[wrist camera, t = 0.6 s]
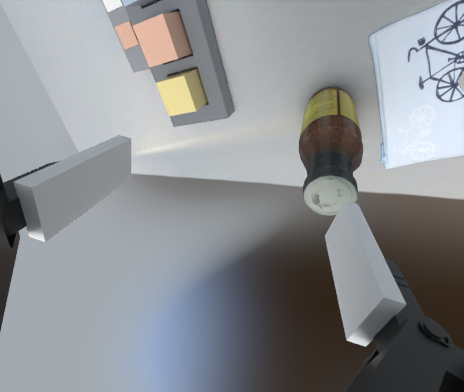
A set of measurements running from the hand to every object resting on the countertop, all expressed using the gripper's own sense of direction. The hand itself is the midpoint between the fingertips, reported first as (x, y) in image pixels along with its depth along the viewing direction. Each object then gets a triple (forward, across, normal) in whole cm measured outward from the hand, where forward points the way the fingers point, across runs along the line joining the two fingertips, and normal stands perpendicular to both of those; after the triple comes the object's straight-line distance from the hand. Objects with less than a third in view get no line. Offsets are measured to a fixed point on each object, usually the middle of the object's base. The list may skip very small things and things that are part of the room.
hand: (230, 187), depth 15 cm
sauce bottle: (+24, +9, +3) cm, 26 cm away
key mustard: (+24, -12, +1) cm, 27 cm away
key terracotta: (+23, -14, +6) cm, 28 cm away
